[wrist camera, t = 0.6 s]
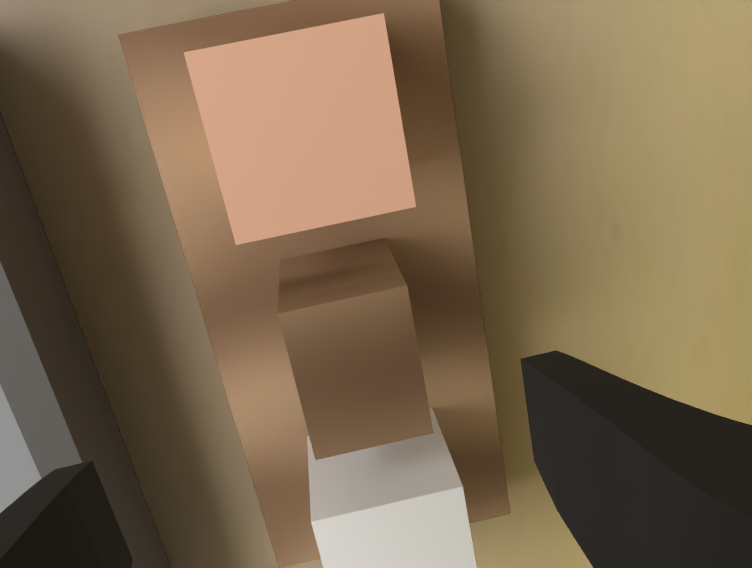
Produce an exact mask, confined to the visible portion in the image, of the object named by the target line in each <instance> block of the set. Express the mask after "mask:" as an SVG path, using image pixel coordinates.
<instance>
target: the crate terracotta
mask: <svg viewBox="0 0 752 568" xmlns="http://www.w3.org/2000/svg"><path fill="white" fill-rule="evenodd" d="M184 56H185V60H186V63H187V67H188V71H189V74H190V78H191V82H192V85H193V89H194V93H195V96H196V100H197V104H198V108H199V111H200V115H201V119H202V122H203V126H204V130H205V133H206V137H207V141H208V144H209V148H210V152H211V155H212V159H213V163H214V166H215V170H216V174H217V178H218V181H219V185H220V189H221V192H222V196H223V200H224V203H225V207H226V211H227V214H228V218H229V222H230V225H231V229H232V233H233V237H234V240H235V244H236V245H239V244H243V243H248V242H253V241H258V240H262V239H267V238H272V237H276V236H281V235H286V234H291V233H295V232H300V231H305V230H309V229H314V228H319V227H324V226H328V225H333V224H338V223H343V222H347V221H352V220H357V219H361V218H366V217H371V216H376V215H380V214H385V213H390V212H394V211H399V210H404V209H409V208H413V207H416V203H415V197H414V191H413V185H412V179H411V173H410V167H409V161H408V155H407V149H406V143H405V137H404V131H403V125H402V119H401V113H400V107H399V101H398V95H397V89H396V83H395V77H394V71H393V65H392V59H391V53H390V47H389V41H388V35H387V29H386V23H385V17H384V13H382V14H377V15H372V16H366V17H361V18H356V19H351V20H346V21H341V22H336V23H331V24H326V25H321V26H316V27H310V28H305V29H300V30H295V31H290V32H285V33H280V34H275V35H270V36H265V37H260V38H254V39H249V40H244V41H239V42H234V43H229V44H224V45H219V46H214V47H209V48H204V49H199V50H193V51H188V52H184Z"/></svg>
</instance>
